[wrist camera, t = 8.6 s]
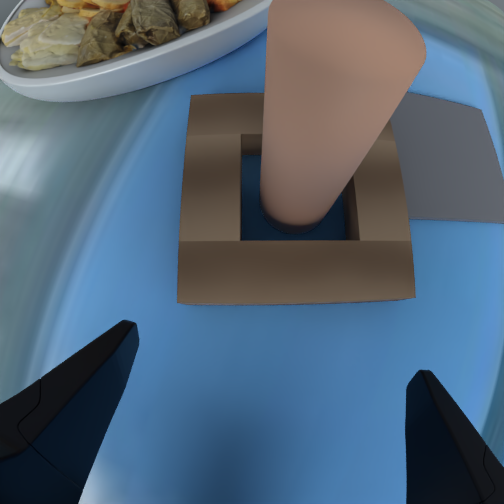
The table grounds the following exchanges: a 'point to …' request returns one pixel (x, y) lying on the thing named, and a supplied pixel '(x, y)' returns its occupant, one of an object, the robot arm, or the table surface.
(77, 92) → the bowl
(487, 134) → the mat
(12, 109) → the table surface
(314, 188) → the dowel
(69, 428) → the robot arm
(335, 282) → the socket block
